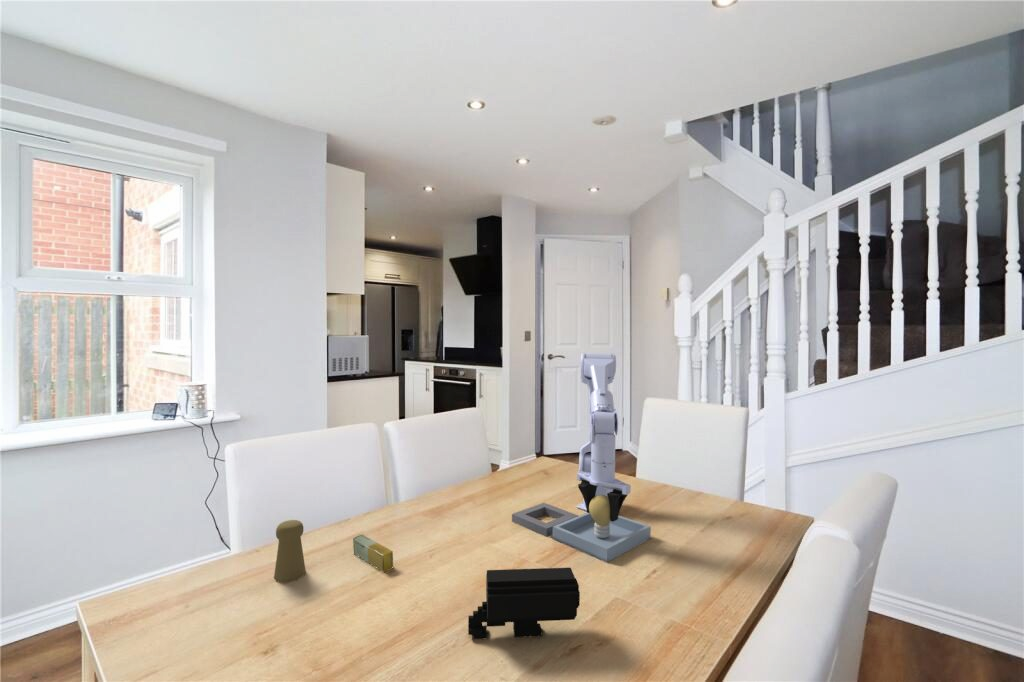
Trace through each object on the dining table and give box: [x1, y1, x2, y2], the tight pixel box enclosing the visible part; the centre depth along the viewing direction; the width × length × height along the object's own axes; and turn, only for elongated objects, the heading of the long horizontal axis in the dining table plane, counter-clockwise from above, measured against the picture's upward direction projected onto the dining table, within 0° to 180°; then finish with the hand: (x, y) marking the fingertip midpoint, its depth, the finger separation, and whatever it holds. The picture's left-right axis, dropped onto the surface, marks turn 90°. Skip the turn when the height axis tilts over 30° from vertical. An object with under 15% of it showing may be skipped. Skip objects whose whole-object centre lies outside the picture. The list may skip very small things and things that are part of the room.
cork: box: [273, 519, 307, 583], centre depth 101 cm, size 6×6×11 cm
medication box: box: [352, 534, 394, 572], centre depth 108 cm, size 12×3×4 cm, turn 49°
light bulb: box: [589, 495, 611, 538], centre depth 119 cm, size 6×6×10 cm
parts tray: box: [552, 512, 652, 563], centre depth 120 cm, size 18×16×3 cm
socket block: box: [511, 502, 580, 538], centre depth 129 cm, size 12×12×2 cm
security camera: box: [467, 567, 581, 640], centre depth 83 cm, size 7×18×10 cm, turn 95°
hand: (602, 515), depth 120 cm, fingers open, 6 cm apart
